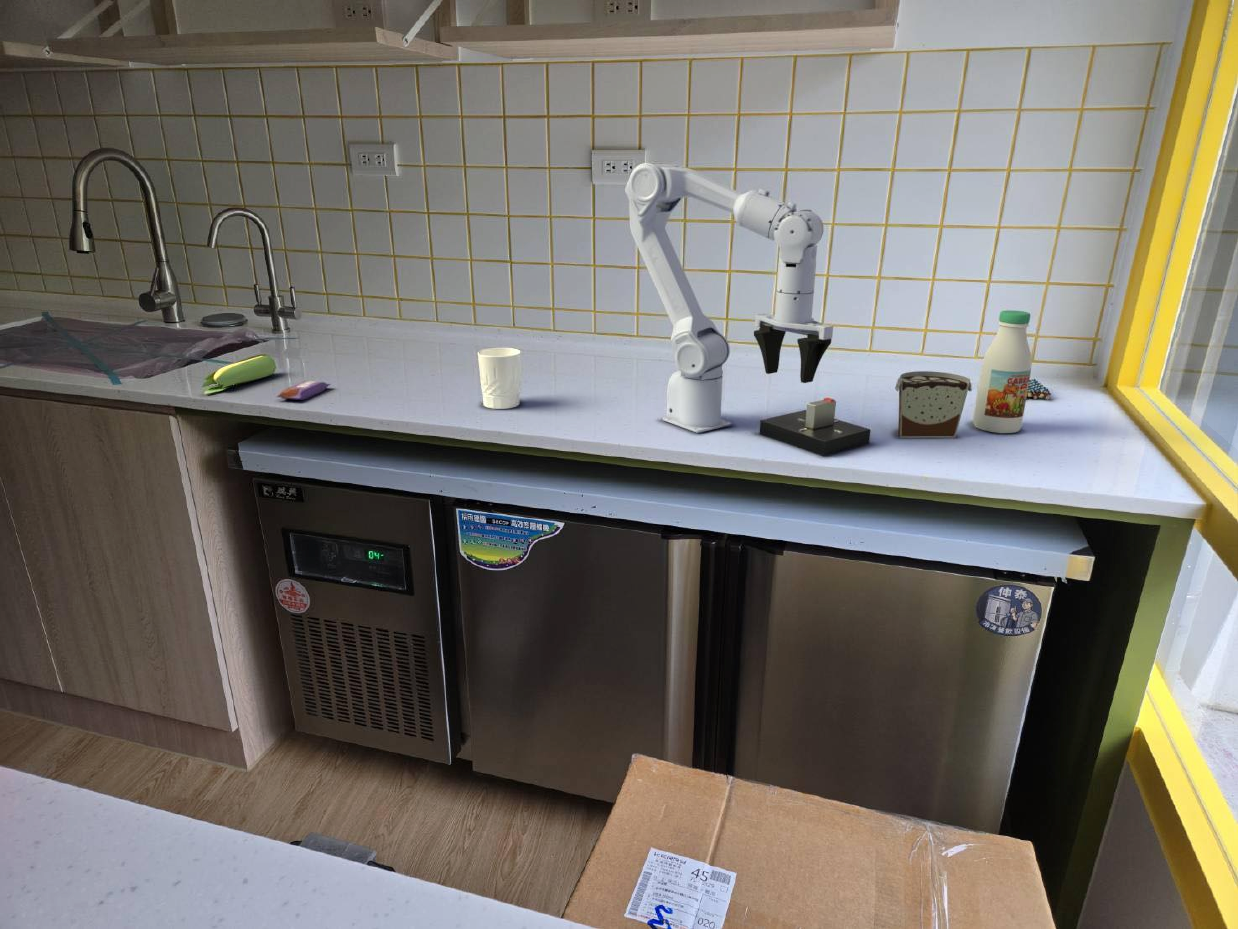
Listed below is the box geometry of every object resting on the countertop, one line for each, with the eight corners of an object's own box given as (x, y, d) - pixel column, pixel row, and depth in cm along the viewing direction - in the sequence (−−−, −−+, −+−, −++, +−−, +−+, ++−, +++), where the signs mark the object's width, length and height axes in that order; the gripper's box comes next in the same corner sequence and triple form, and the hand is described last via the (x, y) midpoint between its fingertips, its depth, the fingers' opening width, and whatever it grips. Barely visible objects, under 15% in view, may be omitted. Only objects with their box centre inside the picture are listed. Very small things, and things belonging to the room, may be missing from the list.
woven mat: (1052, 400, 159) (1054, 390, 158) (994, 397, 161) (996, 387, 160) (1035, 387, 169) (1037, 377, 168) (981, 385, 170) (982, 375, 170)
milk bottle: (964, 427, 142) (982, 311, 135) (983, 418, 147) (1001, 306, 140) (1009, 437, 137) (1030, 317, 130) (1027, 427, 142) (1048, 312, 135)
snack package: (308, 377, 164) (331, 379, 163) (309, 387, 165) (332, 388, 164) (274, 391, 154) (298, 393, 153) (275, 401, 154) (299, 403, 153)
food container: (949, 426, 142) (957, 370, 139) (964, 437, 136) (973, 379, 133) (879, 427, 142) (885, 370, 139) (891, 437, 136) (898, 379, 133)
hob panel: (759, 434, 137) (760, 419, 137) (803, 423, 144) (805, 408, 143) (824, 456, 127) (825, 440, 126) (869, 443, 133) (871, 428, 132)
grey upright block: (813, 429, 132) (815, 404, 130) (804, 426, 133) (806, 401, 131) (834, 424, 134) (836, 399, 133) (825, 421, 136) (827, 397, 134)
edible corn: (284, 374, 175) (281, 353, 174) (215, 397, 157) (211, 373, 156) (264, 372, 177) (261, 351, 175) (193, 394, 159) (189, 371, 157)
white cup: (531, 402, 155) (529, 350, 152) (505, 412, 149) (503, 358, 145) (498, 397, 159) (495, 346, 155) (471, 406, 152) (468, 353, 149)
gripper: (849, 294, 124) (840, 382, 128) (778, 284, 135) (773, 365, 139) (818, 298, 120) (810, 389, 124) (747, 288, 131) (743, 371, 135)
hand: (788, 377), depth 132 cm, fingers open, 7 cm apart
